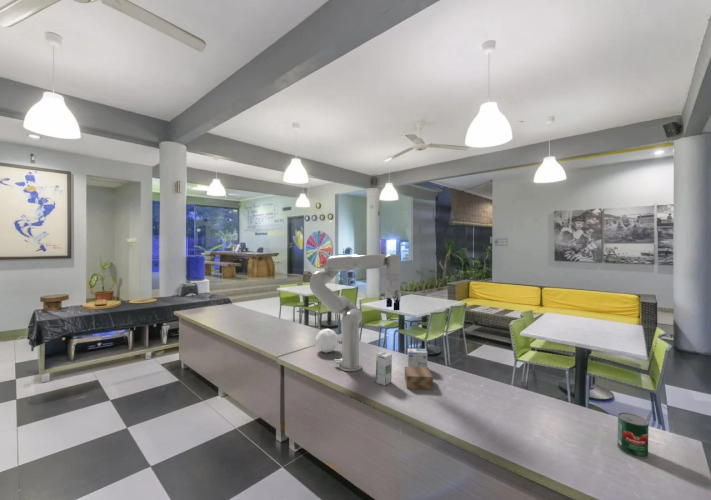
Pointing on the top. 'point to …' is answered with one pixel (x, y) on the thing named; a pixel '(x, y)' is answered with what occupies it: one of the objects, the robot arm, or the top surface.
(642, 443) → the canned tomato
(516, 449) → the top surface
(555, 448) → the top surface
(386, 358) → the syrup box
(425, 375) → the walnut block
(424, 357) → the light bulb box
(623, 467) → the top surface
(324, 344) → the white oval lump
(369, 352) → the top surface
